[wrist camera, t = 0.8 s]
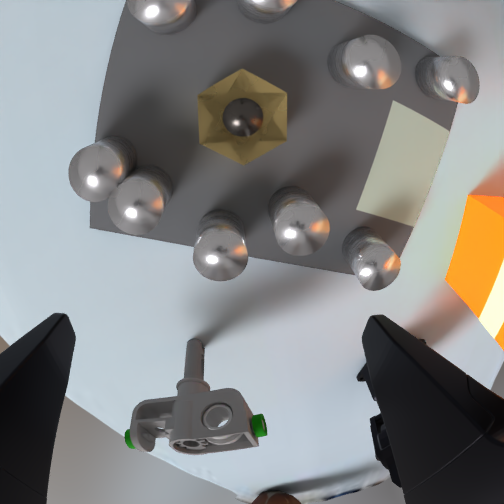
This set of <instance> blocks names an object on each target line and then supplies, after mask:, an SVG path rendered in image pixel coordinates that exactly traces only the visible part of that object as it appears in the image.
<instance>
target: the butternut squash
mask: <svg viewBox="0 0 504 504" xmlns="http://www.w3.org/2000/svg"><path fill="white" fill-rule="evenodd" d="M251 504H301V503H300V502H299V500H297V499H296V498H295V497H294V496H292V495H289V494H287V493H284V492H281V491H276V492H274V491H268V492H262V493H261V494H260V495H259V496H258V497H257V498H256V499H255V500H254V501H253V502H252V503H251Z"/></svg>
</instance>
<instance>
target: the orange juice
mask: <svg viewBox="0 0 504 504" xmlns="http://www.w3.org/2000/svg"><path fill="white" fill-rule="evenodd" d="M445 280H446V281H447V283H448V284H449V285H450V286H451V287H452V288H453V289H454V290H455V291H456V293H457V294H458V295H459V296H460V297H461V298H462V299H463V301H464V302H465V303H466V304H467V305H468V306H469V308H470V309H471V310H472V311H473V312H474V314H475V315H476V316H477V317H478V318H479V321H480V322H481V323H482V324H483V326H484V327H485V328H486V329H487V331H488V332H489V333H490V334H491V336H492V337H493V338H494V339H495V340H496V341H497V342H498V344H499V345H500V346H501V348H502V349H503V350H504V197H494V196H478V195H468V197H467V202H466V206H465V211H464V215H463V220H462V224H461V228H460V232H459V235H458V239H457V243H456V246H455V250H454V253H453V256H452V260H451V263H450V266H449V269H448V272H447V275H446V278H445Z"/></svg>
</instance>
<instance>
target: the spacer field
mask: <svg viewBox="0 0 504 504" xmlns="http://www.w3.org/2000/svg"><path fill="white" fill-rule="evenodd" d="M297 1H298V0H237V5H238V8H239V10H240V12H241V13H242V14H243V15H244V16H245V17H246V18H247V19H249V20H251V21H253V22H257V23H263V24H267V23H273V22H276V21H278V20H280V19H282V18H283V17H284V16H285V15H286V14H287V12H288V11H289V10H290V9H291V8H292V6H293V5H294V4H295V3H296V2H297ZM128 8H129V11H130V12H131V14H132V15H133V16H134V17H135V18H137V19H138V20H139V21H140V22H142V23H143V24H144V25H145V26H147V27H148V28H149V29H150V30H151V31H153V32H154V33H157V34H160V35H173V34H177V33H179V32H181V31H183V30H185V29H186V28H187V27H188V26H189V25H190V24H191V23H192V22H193V20H194V18H195V16H196V5H195V2H194V0H128ZM327 67H328V70H329V73H330V75H331V76H332V78H333V79H334V80H335V81H336V82H337V83H338V84H340V85H342V86H344V87H347V88H360V89H386V88H389V87H391V86H392V85H394V84H395V83H396V81H397V80H398V78H399V76H400V73H401V61H400V57H399V54H398V52H397V51H396V49H395V48H394V46H393V45H392V44H391V43H390V42H389V41H387V40H386V39H384V38H382V37H380V36H377V35H365V36H362V37H359V38H356V39H353V40H350V41H347V42H344V43H341V44H339V45H337V46H335V47H334V48H333V49H332V50H331V51H330V53H329V55H328V58H327ZM415 80H416V83H417V85H418V87H419V89H420V90H421V91H422V93H423V94H425V95H426V96H428V97H430V98H436V99H443V100H449V101H455V102H460V103H465V104H468V103H471V102H473V101H474V100H475V99H476V97H477V95H478V93H479V77H478V74H477V71H476V69H475V67H474V66H473V65H472V63H471V62H470V61H469V60H467V59H466V58H464V57H425V58H422V59H421V60H419V61H418V63H417V65H416V67H415ZM136 165H137V154H136V151H135V148H134V147H133V145H132V144H131V143H130V142H129V141H128V140H127V139H125V138H123V137H120V136H110V137H107V138H105V139H102V140H100V141H98V142H96V143H94V144H91V145H89V146H87V147H85V148H83V149H81V150H79V151H78V152H77V153H76V154H75V155H74V157H73V158H72V160H71V162H70V166H69V180H70V184H71V186H72V188H73V190H74V191H75V192H76V194H77V195H79V196H80V197H81V198H83V199H85V200H87V201H91V202H99V201H103V200H105V199H107V198H108V197H109V200H108V212H109V215H110V218H111V220H112V221H113V223H114V224H115V225H116V226H117V227H118V228H119V229H120V230H122V231H124V232H126V233H128V234H132V235H142V234H145V233H148V232H150V231H151V230H153V229H154V228H155V227H156V226H157V224H158V223H159V221H160V219H161V217H162V214H163V212H164V210H165V208H166V206H167V204H168V202H169V200H170V198H171V195H172V182H171V179H170V177H169V176H168V174H167V173H166V172H165V171H164V170H163V169H161V168H159V167H157V166H154V165H143V166H140V167H138V168H136ZM135 168H136V169H135ZM267 212H268V216H269V219H270V222H271V225H272V227H273V230H274V233H275V236H276V239H277V242H278V244H279V246H280V247H281V248H282V249H283V250H284V251H285V252H287V253H289V254H291V255H295V256H305V255H309V254H312V253H314V252H316V251H317V250H319V249H320V248H321V247H322V246H323V245H324V244H325V242H326V240H327V238H328V236H329V232H330V225H329V221H328V218H327V217H326V215H325V214H324V213H323V211H322V210H321V209H320V207H319V206H318V205H317V204H316V202H315V201H314V200H313V198H312V197H311V196H310V195H309V193H308V192H307V191H306V190H304V189H303V188H300V187H297V186H286V187H283V188H281V189H279V190H277V191H276V192H275V193H274V194H273V195H272V196H271V198H270V200H269V202H268V206H267ZM342 254H343V256H344V258H345V259H346V261H347V262H348V264H349V265H350V267H351V268H352V270H353V272H354V273H355V275H356V276H357V278H358V279H359V281H360V283H361V284H362V286H363V287H364V288H366V289H368V290H372V291H376V290H381V289H383V288H385V287H387V286H388V285H390V284H391V283H392V282H393V281H394V280H395V279H396V277H397V275H398V273H399V271H400V266H401V263H400V259H399V257H398V256H397V254H396V253H395V252H394V251H393V250H392V249H391V248H390V247H389V246H388V245H387V243H386V242H385V241H384V240H383V239H382V238H381V237H380V236H379V235H378V234H377V233H376V232H375V231H374V230H373V229H372V228H369V227H359V228H356V229H354V230H352V231H351V232H350V233H349V234H348V235H347V236H346V237H345V239H344V241H343V244H342ZM193 261H194V265H195V267H196V269H197V270H198V272H199V273H200V274H202V275H203V276H204V277H206V278H208V279H211V280H214V281H227V280H230V279H233V278H235V277H237V276H238V275H240V274H241V273H242V272H243V270H244V269H245V267H246V265H247V261H248V253H247V247H246V240H245V233H244V226H243V223H242V221H241V219H240V218H239V217H238V216H237V215H236V214H235V213H233V212H231V211H229V210H224V209H218V210H213V211H210V212H209V213H207V214H205V215H204V216H203V217H202V219H201V220H200V222H199V225H198V229H197V235H196V241H195V247H194V253H193Z"/></svg>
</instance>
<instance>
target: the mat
mask: <svg viewBox="0 0 504 504" xmlns="http://www.w3.org/2000/svg"><path fill="white" fill-rule="evenodd" d="M194 2H195V5H196V16H195V18H194V20H193V22H192V23H191V24H190V25H189V26H188V27H187V28H186V29H185V30H183V31H181V32H179V33H177V34H173V35H160V34H157V33H154V32H153V31H151V30H150V29H149V28H148V27H147V26H145V25H144V24H143V23H142V22H140V21H139V20H138V19H137V18H135V17H134V16H133V15H132V14H131V12H130V11H129V8H128V0H126V2H125V5H124V8H123V12H122V15H121V18H120V21H119V25H118V28H117V31H116V35H115V39H114V42H113V46H112V50H111V54H110V58H109V63H108V67H107V72H106V76H105V81H104V86H103V91H102V97H101V103H100V109H99V115H98V122H97V129H96V137H95V143H96V142H98V141H100V140H102V139H105V138H107V137H110V136H120V137H123V138H125V139H127V140H128V141H129V142H130V143H131V144H132V145H133V147H134V148H135V151H136V154H137V165H136V168H138V167H140V166H143V165H154V166H157V167H159V168H161V169H163V170H164V171H165V172H166V173H167V174H168V176H169V177H170V179H171V182H172V195H171V198H170V200H169V202H168V204H167V206H166V208H165V210H164V212H163V214H162V217H161V219H160V221H159V223H158V224H157V226H156V227H155V228H154V229H153V230H151V231H150V232H148V233H145V234H142V235H132V234H128V233H126V232H124V231H122V230H120V229H119V228H118V227H117V226H116V225H115V224H114V223H113V221H112V220H111V218H110V215H109V212H108V200H109V197H108V198H107V199H105V200H103V201H99V202H91V201H90V228H93V229H99V230H104V231H110V232H115V233H120V234H126V235H131V236H137V237H142V238H148V239H154V240H159V241H165V242H170V243H176V244H181V245H187V246H192V247H195V241H196V235H197V229H198V225H199V222H200V220H201V219H202V217H203V216H204V215H205V214H207V213H209V212H210V211H213V210H218V209H224V210H229V211H231V212H233V213H235V214H236V215H237V216H238V217H239V218H240V219H241V221H242V223H243V226H244V233H245V240H246V247H247V253H248V256H249V257H254V258H260V259H266V260H271V261H277V262H283V263H289V264H294V265H300V266H306V267H311V268H317V269H323V270H329V271H335V272H340V273H346V274H352V275H355V273H354V272H353V270H352V268H351V267H350V265H349V264H348V262H347V261H346V259H345V258H344V256H343V254H342V244H343V241H344V239H345V237H346V236H347V235H348V234H349V233H350V232H351V231H352V230H354V229H356V228H359V227H369V228H372V229H373V230H374V231H375V232H376V233H377V234H378V235H379V236H380V237H381V238H382V239H383V240H384V241H385V242H386V243H387V245H388V246H389V247H390V248H391V249H392V250H393V251H394V252H395V253H396V254H397V256H398V257H399V258H400V256H401V254H402V252H403V249H404V247H405V245H406V243H407V241H408V239H409V237H410V234H411V232H412V230H413V228H414V225H415V223H416V221H417V219H418V216H419V214H420V212H421V209H422V207H423V204H424V202H425V199H426V197H427V194H428V192H429V189H430V187H431V184H432V182H433V179H434V176H435V174H436V171H437V168H438V165H439V162H440V160H441V157H442V154H443V151H444V148H445V145H446V142H447V138H448V135H449V132H450V129H451V125H452V122H453V118H454V115H455V111H456V108H457V104H458V102H455V101H449V100H443V99H436V98H430V97H428V96H426V95H425V94H423V93H422V91H421V90H420V89H419V87H418V85H417V83H416V80H415V67H416V65H417V63H418V61H419V60H421V59H422V58H425V57H440V56H439V55H437V54H436V53H434V52H433V51H431V50H430V49H428V48H426V47H425V46H423V45H422V44H420V43H418V42H417V41H415V40H413V39H412V38H410V37H408V36H407V35H405V34H403V33H401V32H400V31H398V30H396V29H394V28H392V27H390V26H388V25H386V24H385V23H383V22H381V21H379V20H377V19H375V18H373V17H370V16H368V15H366V14H364V13H362V12H360V11H357V10H355V9H353V8H351V7H348V6H346V5H343V4H341V3H339V2H336V1H333V0H298V1H297V2H296V3H295V4H294V5H293V6H292V8H291V9H290V10H289V11H288V12H287V14H286V15H285V16H284V17H283V18H282V19H280V20H278V21H276V22H273V23H267V24H263V23H257V22H253V21H251V20H249V19H247V18H246V17H245V16H244V15H243V14H242V13H241V12H240V10H239V8H238V5H237V0H194ZM365 35H377V36H380V37H382V38H384V39H386V40H387V41H389V42H390V43H391V44H392V45H393V46H394V48H395V49H396V51H397V52H398V54H399V57H400V61H401V73H400V76H399V78H398V80H397V81H396V83H395V84H394V85H392V86H391V87H389V88H386V89H360V88H347V87H344V86H342V85H340V84H338V83H337V82H336V81H335V80H334V79H333V78H332V76H331V75H330V73H329V70H328V67H327V58H328V55H329V53H330V51H331V50H332V49H333V48H334V47H335V46H337V45H339V44H341V43H344V42H347V41H350V40H353V39H356V38H359V37H362V36H365ZM240 69H244V70H246V71H248V72H250V73H252V74H254V75H256V76H257V77H259V78H261V79H263V80H265V81H267V82H269V83H270V84H272V85H274V86H276V87H278V88H279V89H281V90H283V91H285V92H286V93H287V141H286V142H284V143H282V144H281V145H279V146H277V147H275V148H274V149H272V150H270V151H268V152H267V153H265V154H263V155H261V156H260V157H258V158H256V159H254V160H253V161H251V162H249V163H248V164H246V165H242V164H240V163H238V162H236V161H234V160H232V159H230V158H228V157H226V156H224V155H222V154H220V153H217V152H215V151H213V150H211V149H209V148H207V147H205V146H203V145H201V144H200V143H199V123H198V100H197V95H198V94H200V93H201V92H203V91H205V90H206V89H208V88H209V87H211V86H213V85H214V84H216V83H218V82H219V81H221V80H223V79H225V78H226V77H228V76H230V75H232V74H233V73H235V72H237V71H239V70H240ZM136 168H135V169H136ZM286 186H297V187H300V188H303V189H304V190H306V191H307V192H308V193H309V195H310V196H311V197H312V198H313V200H314V201H315V202H316V204H317V205H318V206H319V207H320V209H321V210H322V211H323V213H324V214H325V215H326V217H327V218H328V221H329V225H330V232H329V236H328V238H327V240H326V242H325V244H324V245H323V246H322V247H321V248H320V249H319V250H317V251H316V252H314V253H312V254H309V255H305V256H295V255H291V254H289V253H287V252H285V251H284V250H283V249H282V248H281V247H280V246H279V244H278V242H277V239H276V236H275V233H274V230H273V227H272V225H271V222H270V219H269V216H268V212H267V206H268V202H269V200H270V198H271V196H272V195H273V194H274V193H275V192H276V191H277V190H279V189H281V188H283V187H286Z"/></svg>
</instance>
